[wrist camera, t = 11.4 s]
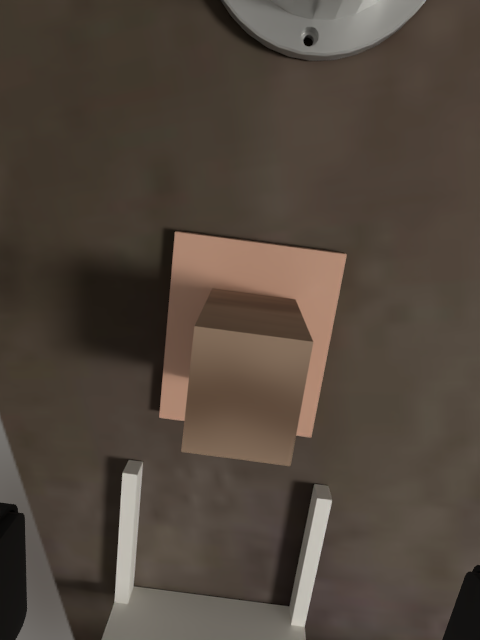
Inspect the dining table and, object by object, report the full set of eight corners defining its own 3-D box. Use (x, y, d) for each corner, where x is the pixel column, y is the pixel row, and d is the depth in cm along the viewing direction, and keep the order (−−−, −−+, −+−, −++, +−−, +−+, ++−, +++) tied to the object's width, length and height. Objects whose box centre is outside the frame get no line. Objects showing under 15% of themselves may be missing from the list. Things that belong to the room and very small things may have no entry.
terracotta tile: (177, 230, 26) (174, 231, 25) (343, 252, 26) (346, 254, 25) (161, 411, 29) (159, 417, 28) (309, 431, 29) (311, 437, 28)
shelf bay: (128, 459, 30) (25, 673, 16) (328, 485, 30) (389, 720, 16) (119, 596, 33) (27, 868, 20) (299, 620, 33) (330, 907, 20)
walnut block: (212, 288, 26) (194, 326, 18) (295, 299, 26) (313, 341, 18) (201, 380, 27) (181, 451, 19) (280, 391, 27) (290, 466, 20)
